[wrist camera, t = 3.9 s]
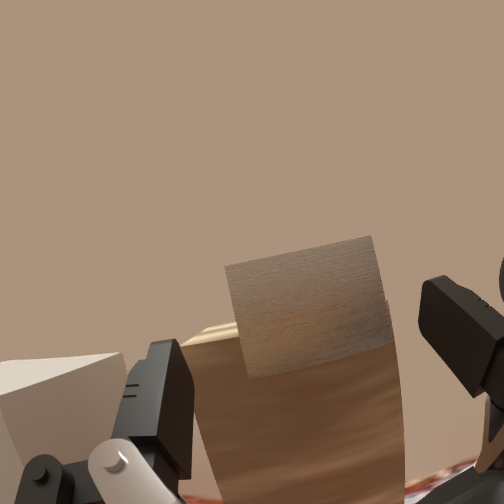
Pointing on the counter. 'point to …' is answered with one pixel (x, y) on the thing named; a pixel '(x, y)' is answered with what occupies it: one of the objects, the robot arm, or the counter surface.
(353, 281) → the wooden block
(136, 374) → the robot arm
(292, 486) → the walnut stand
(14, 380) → the block
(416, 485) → the counter surface
